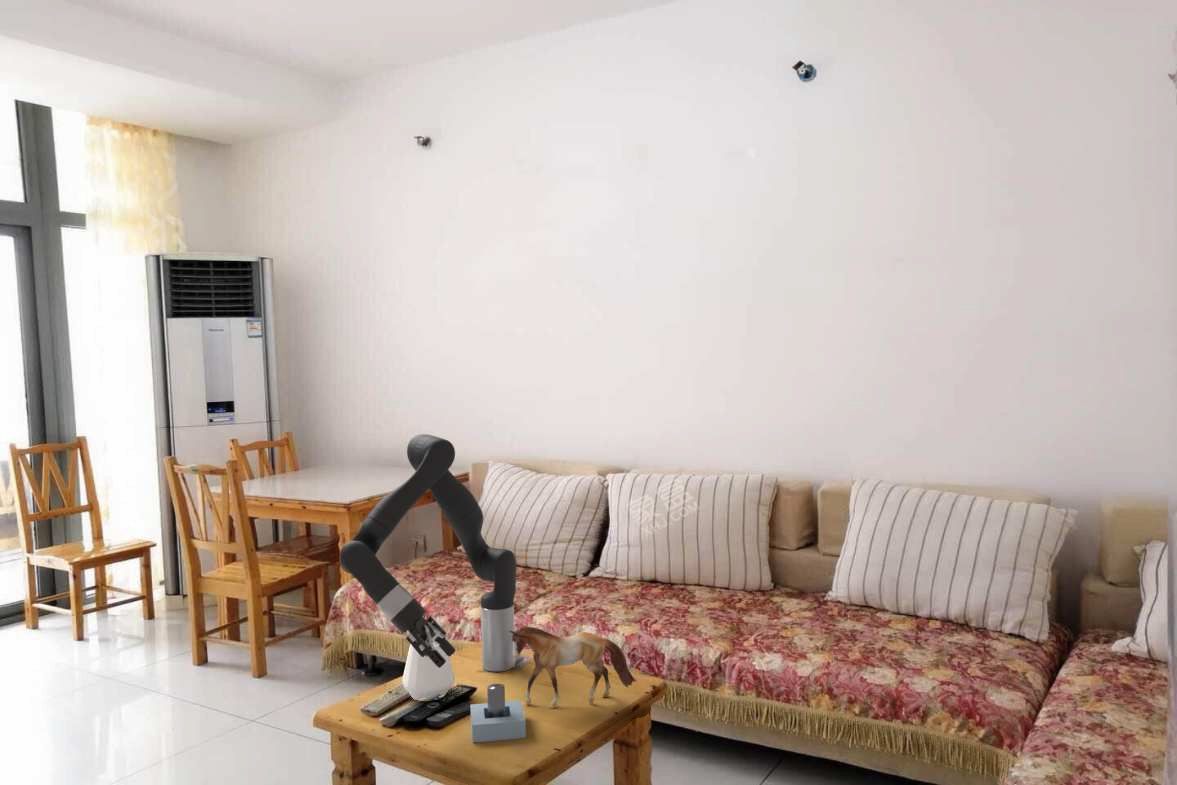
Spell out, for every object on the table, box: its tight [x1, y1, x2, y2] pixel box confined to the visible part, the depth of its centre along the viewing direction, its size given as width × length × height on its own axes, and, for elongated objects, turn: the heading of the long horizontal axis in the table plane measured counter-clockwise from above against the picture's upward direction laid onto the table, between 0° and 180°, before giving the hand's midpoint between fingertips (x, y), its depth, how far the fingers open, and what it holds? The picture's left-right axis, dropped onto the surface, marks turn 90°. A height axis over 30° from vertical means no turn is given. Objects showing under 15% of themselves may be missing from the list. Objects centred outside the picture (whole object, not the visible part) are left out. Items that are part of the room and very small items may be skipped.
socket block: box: [470, 699, 527, 743], centre depth 202 cm, size 12×12×4 cm
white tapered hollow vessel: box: [402, 642, 456, 701], centre depth 224 cm, size 13×13×14 cm
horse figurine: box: [509, 626, 637, 708], centre depth 216 cm, size 31×8×21 cm, turn 100°
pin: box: [486, 683, 506, 718], centre depth 202 cm, size 4×4×10 cm
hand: (447, 659), depth 204 cm, fingers open, 8 cm apart
